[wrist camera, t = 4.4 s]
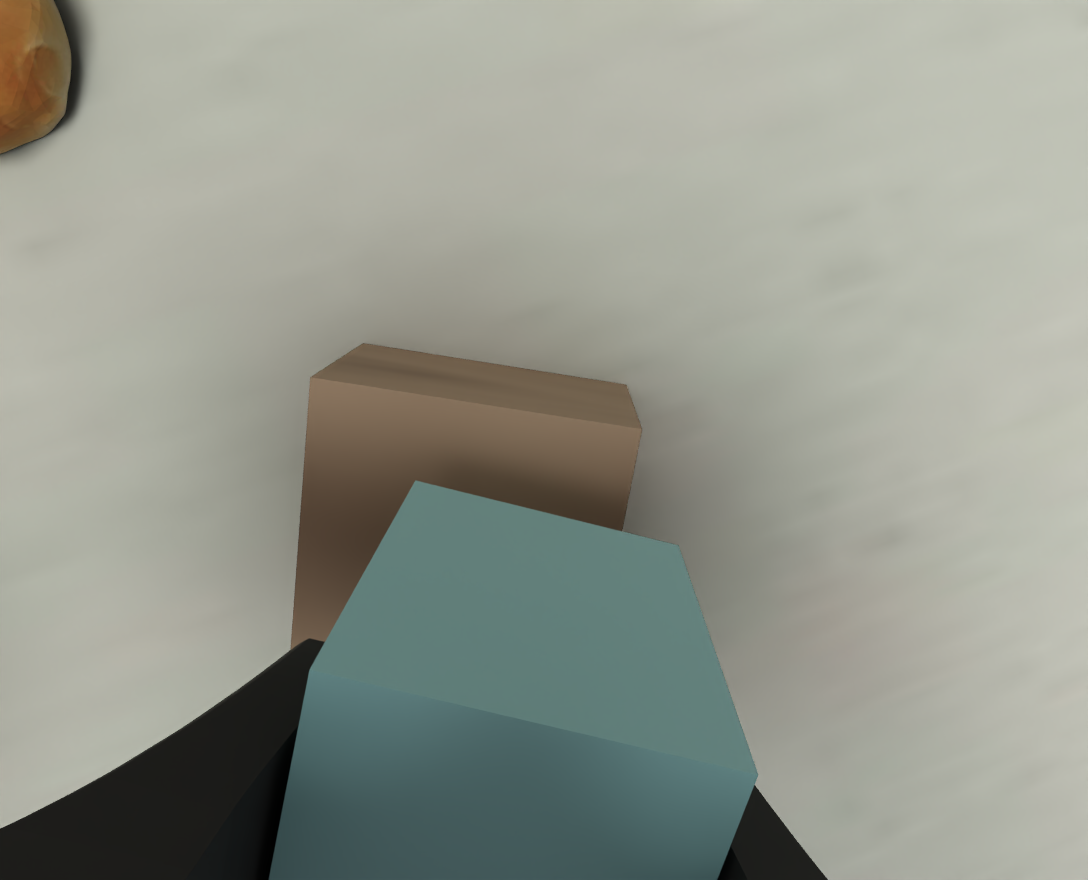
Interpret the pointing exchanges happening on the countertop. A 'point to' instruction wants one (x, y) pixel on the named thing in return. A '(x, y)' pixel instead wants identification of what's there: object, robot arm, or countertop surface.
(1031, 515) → the countertop surface
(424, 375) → the walnut block
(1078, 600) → the countertop surface
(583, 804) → the teal block
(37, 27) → the pastry
